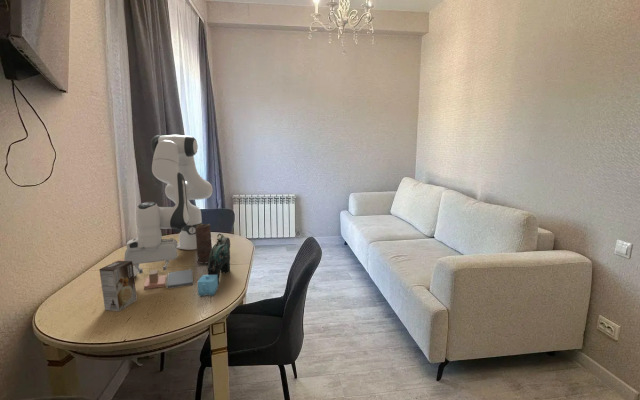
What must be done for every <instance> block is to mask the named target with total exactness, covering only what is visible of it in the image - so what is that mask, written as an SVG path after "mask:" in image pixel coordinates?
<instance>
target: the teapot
mask: <svg viewBox="0 0 640 400" xmlns="http://www.w3.org/2000/svg"><path fill="white" fill-rule="evenodd" d="M218 288H219V284H218V275H208V274H202V275H201V277H199V279H198V280H197V295H198V296H201V297H204V296H210V297H211V296H215V294H216V292H217V290H218Z"/></svg>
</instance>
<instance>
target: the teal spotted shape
mask: <svg viewBox="0 0 640 400" xmlns="http://www.w3.org/2000/svg"><path fill="white" fill-rule="evenodd" d="M216 236H217V238H216V240H217V241H216V243H215V244H214V245H212V250H211V252H210V255H209V259H208V263H207V275H218V285H219V284H220V275H221V274H229V272H230V271H231V263H230V261H231V249H230V248H231V240H230V238H229V237H226V236H224V234H221V233H218V234H217V235H216ZM219 236H220V237H219Z"/></svg>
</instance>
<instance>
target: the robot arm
mask: <svg viewBox="0 0 640 400" xmlns="http://www.w3.org/2000/svg"><path fill="white" fill-rule="evenodd" d="M198 146H199V145H198V141H197V139H196V138H195V137H194V136H191V135H182V134H166V135H161V134H158V135H154V136H153V137H152V138H151V139H150V150H151V152H152V154H153V158H152V162H151V163H152V164H151V172H152V174H153V175H152V176H154V177H155V178H156V179H157V180H158V181H160V182H162V183H164V184H166V185H165V188H164V193H165V196H166V197H167V199H169V200H171V202H173V203H174V204H175V205H173V206H158V204H157V202H154V201H146V202H142V203H139V204H138V205H137V208H136V217H135V218H136V226H137V229H138V230H137V231H138V233H137V236H136V237H134V238H132V239H130V240H128V241H127V243H125V244H126V245H125V246H126V249H125V251H124V258H123V259H124V261H132V263H133V265H134V264H135V267H136V269H137V270H138V274H139V275H143V274H144V271H143V268H141V267H140V265H142V264H149V263H150V264H151V263H157V262H165V265H163V266H162V269H163V270H162V271H168V265H169V263H170V261H174V260H176V259H178V250H177V249H181V250H185V251H187V250H190V251H191V250H197V244H196V230H195V227H196V226H198V225H200V224H204V223H203V220H202V211H201V209H200V208H199V207H198V206H196V205H194V204H192V203H191V201H192V200H194V201H196V200H205V199H209V198H210V197H211V196H212V194H213V190H214V189H213V185H212V184H211V183H210V182H209V181H208V180H205V178H203V177H202V176H201V175H200V174H199V172H198V170H197V167H196V162H195V157H194V156H195V155H196V154H197V152H198V148H199V147H198ZM161 229H164V230H166V229H173V230H181V231H180V232H179V233H178V240H177V239H174V238H173V237H172V238H162V237H163V236H162V230H161Z"/></svg>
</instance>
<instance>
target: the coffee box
mask: <svg viewBox="0 0 640 400" xmlns="http://www.w3.org/2000/svg"><path fill="white" fill-rule="evenodd" d="M115 261H116V262H114V261H113V262H114V263H113V262H112V263H109V264H108V265H107V264H106V265H105V266H104V267H101V268H99V269H98V271H99V275H100V283H101V290H102V296H103V297H102V298H103V304H104V306H103V307H104V310H105V311H110V312H111V311H112V312H113V311H114V312H121V311H122V310H124V309H125V308H127V307H128V306H130V305H131V304H133V303H135V302H136V301H137V300H138V299H137V298H138V297H137V290H136V282H135V277H134V272H133V263H132V261H117V260H115Z"/></svg>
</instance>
